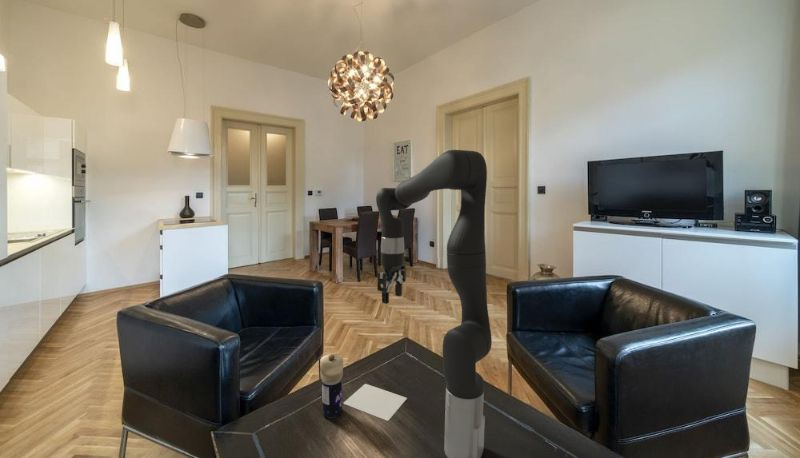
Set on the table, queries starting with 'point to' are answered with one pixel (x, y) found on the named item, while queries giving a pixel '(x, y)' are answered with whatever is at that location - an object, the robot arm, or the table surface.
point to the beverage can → (332, 398)
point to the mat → (375, 401)
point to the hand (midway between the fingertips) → (392, 299)
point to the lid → (331, 367)
